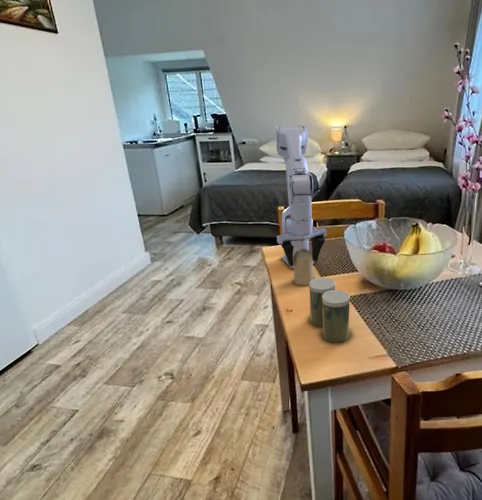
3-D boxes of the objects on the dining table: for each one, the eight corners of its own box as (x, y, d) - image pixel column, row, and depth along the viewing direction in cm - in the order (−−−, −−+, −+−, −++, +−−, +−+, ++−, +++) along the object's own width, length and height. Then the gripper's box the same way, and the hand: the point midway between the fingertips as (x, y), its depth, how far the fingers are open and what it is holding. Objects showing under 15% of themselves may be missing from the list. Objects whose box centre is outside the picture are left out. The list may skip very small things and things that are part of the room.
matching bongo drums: (306, 316, 96) (305, 280, 92) (328, 311, 98) (328, 275, 94) (329, 345, 85) (329, 305, 81) (354, 338, 87) (354, 299, 83)
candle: (305, 287, 111) (304, 255, 107) (290, 282, 114) (289, 251, 110) (316, 280, 115) (315, 249, 111) (301, 275, 118) (300, 245, 114)
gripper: (281, 225, 101) (284, 272, 106) (331, 217, 106) (331, 263, 111) (273, 218, 107) (276, 263, 112) (320, 211, 112) (321, 254, 117)
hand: (303, 262), depth 112 cm, fingers open, 7 cm apart
